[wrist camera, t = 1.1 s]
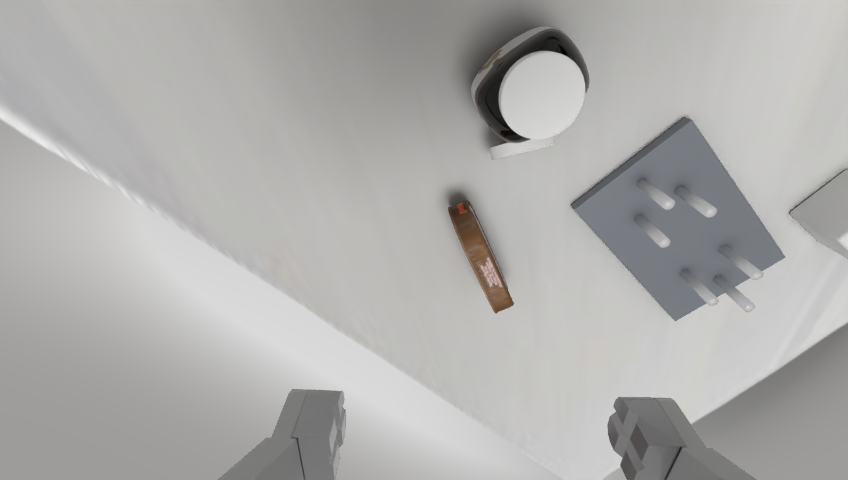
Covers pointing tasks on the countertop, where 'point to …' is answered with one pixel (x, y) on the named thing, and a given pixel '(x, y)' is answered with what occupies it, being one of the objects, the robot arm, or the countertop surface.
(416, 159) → the countertop surface
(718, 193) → the pin tray
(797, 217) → the medicine bottle
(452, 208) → the tin
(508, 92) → the spread jar
